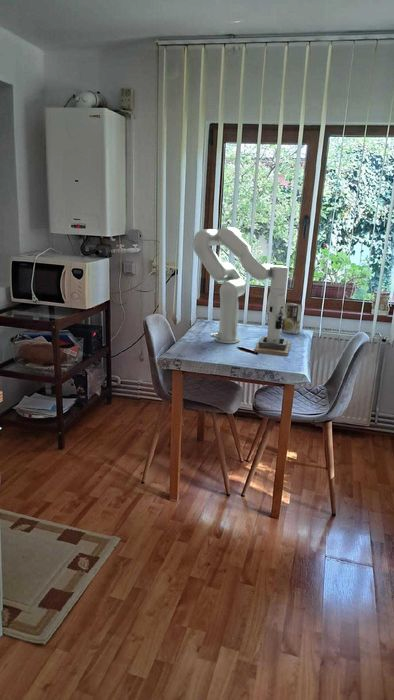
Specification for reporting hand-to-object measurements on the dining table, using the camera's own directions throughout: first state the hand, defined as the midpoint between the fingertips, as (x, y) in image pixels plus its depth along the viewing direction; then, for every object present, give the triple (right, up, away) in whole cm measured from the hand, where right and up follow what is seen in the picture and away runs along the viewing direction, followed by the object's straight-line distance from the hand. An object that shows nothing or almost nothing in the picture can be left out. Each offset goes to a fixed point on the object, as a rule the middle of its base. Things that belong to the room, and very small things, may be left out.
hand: (274, 326), depth 242 cm
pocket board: (0, -11, +3) cm, 11 cm away
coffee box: (+15, -1, +38) cm, 41 cm away
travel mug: (0, -9, +2) cm, 9 cm away
